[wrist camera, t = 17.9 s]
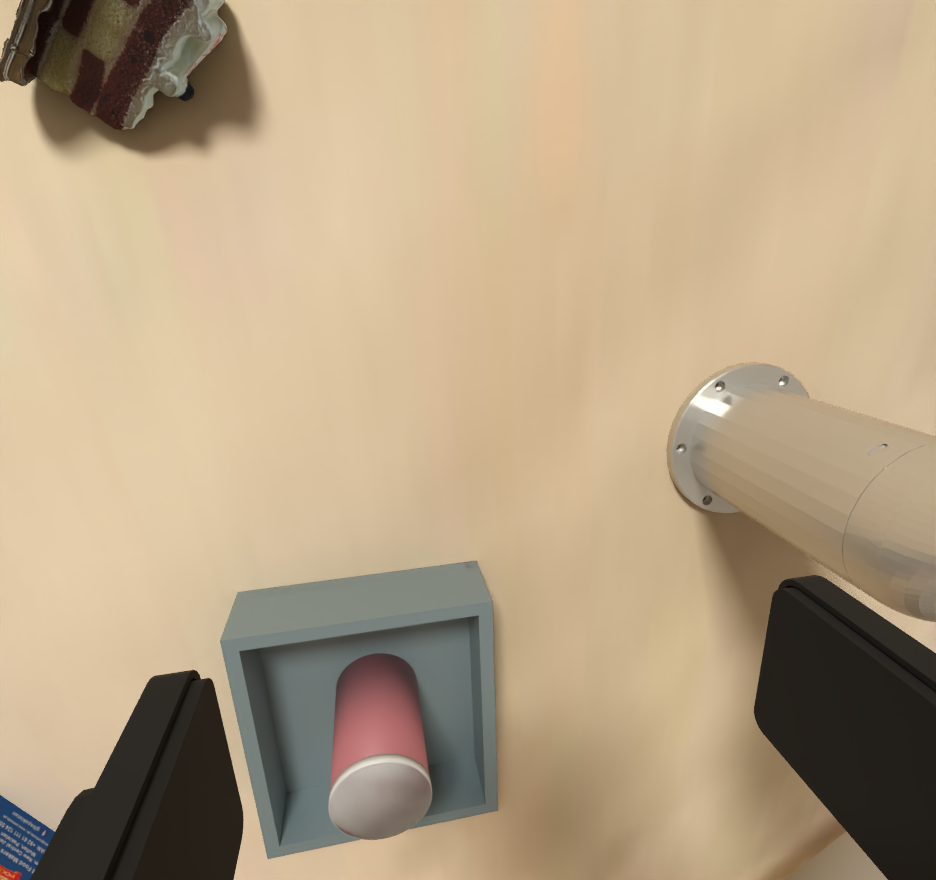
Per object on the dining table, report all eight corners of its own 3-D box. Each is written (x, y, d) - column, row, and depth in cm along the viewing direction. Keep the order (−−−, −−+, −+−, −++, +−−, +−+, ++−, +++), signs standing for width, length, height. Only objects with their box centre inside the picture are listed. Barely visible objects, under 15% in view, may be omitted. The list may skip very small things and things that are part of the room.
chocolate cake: (136, 191, 31) (222, 27, 23) (-13, 92, 27) (30, -147, 19) (198, 100, 36) (287, -62, 28) (79, 5, 32) (144, -216, 24)
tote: (476, 560, 43) (492, 601, 38) (483, 753, 49) (497, 810, 44) (238, 592, 40) (219, 640, 35) (277, 793, 47) (267, 858, 41)
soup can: (417, 649, 43) (433, 755, 34) (416, 713, 45) (431, 831, 36) (333, 656, 42) (326, 769, 33) (336, 723, 44) (330, 846, 35)
